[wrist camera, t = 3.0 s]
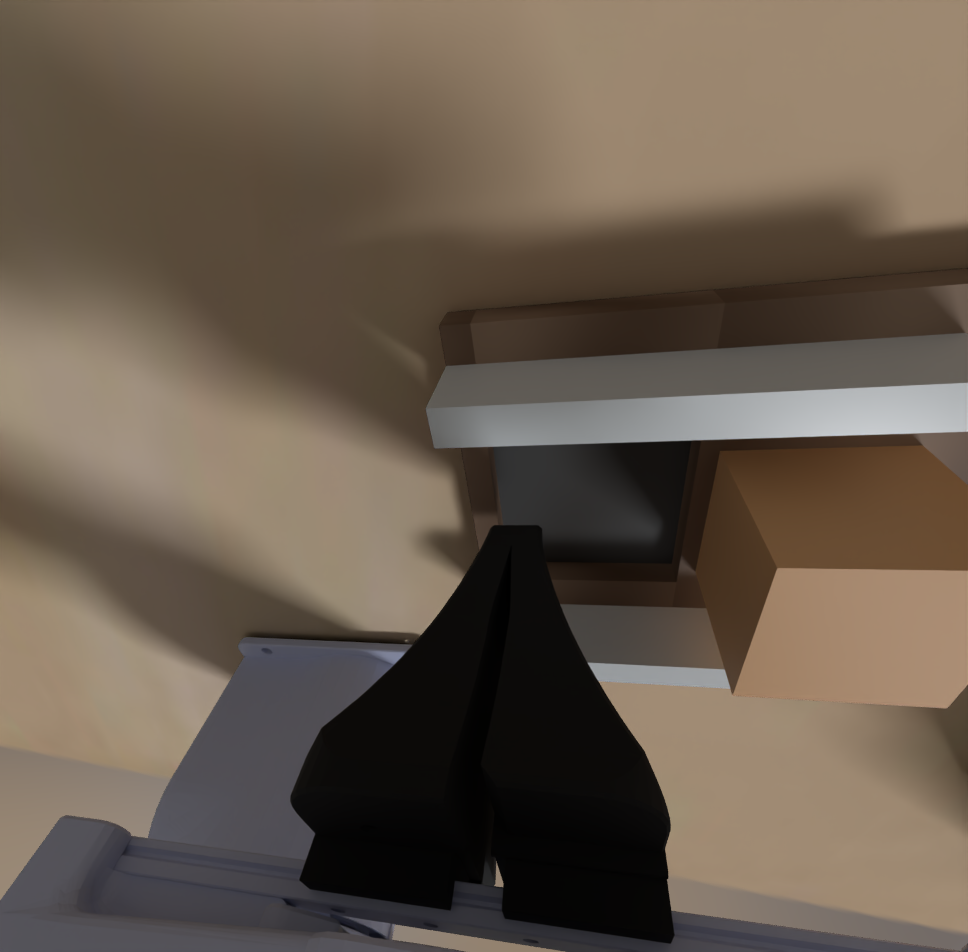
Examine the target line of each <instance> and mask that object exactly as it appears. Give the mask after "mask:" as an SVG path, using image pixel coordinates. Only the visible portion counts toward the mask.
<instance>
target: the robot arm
mask: <svg viewBox="0 0 968 952" xmlns="http://www.w3.org/2000/svg"><path fill="white" fill-rule="evenodd" d="M238 648H239V650H240V652H241V653H242V654H243V656H244V658H243V660H242V661H241V663H240V665H239V666H238V668H237V670H236V671H235V673H234V675H233V676H232V678H231V680H230V681H229V683H228V685H227V686H226V688H225V690H224V691H223V693H222V695H221V696H220V698H219V700H218V701H217V703H216V705H215V706H214V708H213V710H212V711H211V713H210V715H209V716H208V718H207V720H206V721H205V723H204V725H203V726H202V728H201V730H200V731H199V733H198V735H197V736H196V738H195V740H194V741H193V743H192V745H191V746H190V748H189V750H188V751H187V753H186V755H185V756H184V758H183V760H182V761H181V763H180V765H179V766H178V768H177V770H176V771H175V773H174V775H173V776H172V778H171V780H170V782H169V783H168V786H167V787H166V789H165V791H164V793H163V795H162V797H161V800H160V802H159V804H158V807H157V809H156V812H155V815H154V818H153V821H152V824H151V828H150V831H149V836H148V838H143V837H136V836H131V834H130V832H128V831H127V830H126V829H124V828H123V827H121V826H119V825H117V824H114V823H111V822H108V821H104V820H98V819H91V818H84V817H76V816H69V815H65V816H63V817H61V818H60V819H59V820H58V822H57V823H56V824H55V826H54V827H53V829H52V830H51V831H50V833H49V834H48V835H47V837H46V838H45V840H44V841H43V842H42V844H41V845H40V846H39V848H38V849H37V851H36V852H35V853H34V855H33V856H32V857H31V859H30V860H29V862H28V863H27V865H26V866H25V867H24V869H23V870H22V871H21V873H20V874H19V875H18V877H17V878H16V880H15V881H14V882H13V884H12V885H11V887H10V888H9V889H8V891H7V892H6V894H5V895H4V896H3V898H2V899H1V900H0V952H464V951H459V950H454V949H448V948H441V947H435V946H429V945H423V944H417V943H410V942H403V941H396V940H392V936H393V932H394V926H395V924H396V925H402V926H409V927H415V928H421V929H427V930H434V931H441V932H446V933H453V934H459V935H465V936H471V937H478V938H485V939H490V940H496V941H503V942H509V943H515V944H522V945H528V946H534V947H541V948H546V949H553V950H560V951H565V952H968V944H967V945H965V946H964V947H963V948H962V950H961V951H956V950H949V949H942V948H935V947H927V946H921V945H913V944H906V943H899V942H891V941H885V940H877V939H870V938H863V937H856V936H849V935H841V934H834V933H827V932H820V931H813V930H805V929H798V928H791V927H783V926H777V925H776V926H775V925H769V924H762V923H755V922H748V921H741V920H733V919H726V918H719V917H711V916H705V915H697V914H690V913H683V912H676V911H671V906H670V899H669V891H668V884H667V879H668V867H667V860H666V853H665V847H666V843H667V840H668V837H669V833H670V830H671V824H670V817H669V813H668V809H667V806H666V803H665V799H664V797H663V794H662V791H661V789H660V786H659V784H658V781H657V779H656V777H655V774H654V772H653V770H652V768H651V765H650V763H649V761H648V758H647V756H646V754H645V752H644V750H643V749H642V747H641V746H640V744H639V743H638V742H637V740H636V739H635V737H634V736H633V735H632V733H631V732H630V730H629V729H628V727H627V726H626V724H625V723H624V722H623V720H622V719H621V717H620V716H619V714H618V712H617V711H616V709H615V708H614V706H613V705H612V703H611V702H610V700H609V699H608V697H607V695H606V694H605V692H604V690H603V689H602V687H601V685H600V683H599V682H598V680H597V678H596V677H595V675H594V673H593V671H592V670H591V668H590V666H589V665H588V663H587V661H586V659H585V657H584V655H583V653H582V651H581V649H580V647H579V645H578V643H577V641H576V639H575V637H574V635H573V633H572V631H571V629H570V627H569V624H568V622H567V620H566V617H565V615H564V613H563V610H562V608H561V605H560V603H559V600H558V597H557V595H556V592H555V589H554V586H553V583H552V580H551V577H550V574H549V570H548V567H547V563H546V558H545V554H544V547H543V533H542V528H541V527H540V526H538V525H494V526H492V527H491V528H490V530H489V532H488V535H487V537H486V539H485V541H484V543H483V545H482V547H481V549H480V551H479V552H478V554H477V556H476V558H475V560H474V561H473V563H472V565H471V566H470V568H469V570H468V571H467V573H466V575H465V576H464V578H463V579H462V581H461V583H460V584H459V586H458V587H457V589H456V590H455V592H454V593H453V594H452V596H451V597H450V599H449V600H448V602H447V603H446V604H445V606H444V607H443V609H442V610H441V611H440V613H439V614H438V615H437V617H436V618H435V619H434V620H433V622H432V623H431V624H430V625H429V627H428V628H427V629H426V630H425V631H424V633H423V634H422V635H421V636H420V637H419V638H418V640H417V641H416V642H415V643H414V644H413V645H407V644H386V643H364V642H343V641H321V640H300V639H278V638H257V637H245V638H243V639H242V640H241V641H240V643H239V644H238ZM496 861H497V864H498V867H499V870H500V874H501V876H502V880H503V883H504V886H503V887H496V886H494V885H495V880H496Z"/></svg>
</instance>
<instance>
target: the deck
mask: <svg viewBox="0 0 968 952" xmlns="http://www.w3.org/2000/svg"><path fill="white" fill-rule="evenodd" d="M439 329H440V334H441V340H442V346H443V351H444V357H445V362H446V366H455V365H470V364H486V363H501V362H517V361H533V360H548V359H564V358H580V357H595V356H611V355H627V354H642V353H658V352H674V351H689V350H705V349H721V348H736V347H752V346H768V345H783V344H799V343H815V342H830V341H846V340H861V339H877V338H893V337H908V336H924V335H940V334H955V333H967V334H968V268H966V269H954V270H942V271H931V272H919V273H907V274H895V275H883V276H872V277H860V278H848V279H836V280H825V281H813V282H801V283H789V284H778V285H766V286H754V287H742V288H730V289H719V290H707V291H695V292H683V293H672V294H660V295H648V296H636V297H624V298H613V299H601V300H589V301H577V302H566V303H554V304H542V305H530V306H519V307H507V308H495V309H483V310H471V311H460V312H448V313H447V314H446V315H445V317H444V319H443V320H442V322H441V323H440V325H439ZM919 445H923V446H924V447H925V448H926V449H927V450H929V451H930V452H931V453H932V454H933V455H934V456H935V457H936V458H938V459H939V460H940V461H941V462H942V463H943V464H944V465H946V466H947V467H948V468H949V469H950V470H951V471H952V472H953V473H955V474H956V475H957V476H958V477H959V478H960V479H961V480H963V481H964V482H965V483H966V484H967V485H968V432H943V433H911V434H879V435H847V436H816V437H784V438H752V439H721V440H689V441H657V442H625V443H594V444H562V445H530V446H498V447H467V448H461V452H462V457H463V463H464V468H465V474H466V480H467V485H468V491H469V496H470V502H471V508H472V513H473V519H474V524H475V530H476V535H477V541H478V547H479V551H480V549H481V547H482V545H483V543H484V541H485V539H486V537H487V535H488V532H489V530H490V528H491V527H492V526H494V525H538V526H540V527H541V528H542V533H543V547H544V554H545V558H546V563H547V567H548V570H549V574H550V577H551V580H552V583H553V586H554V589H555V592H556V595H557V597H558V600H559V603H560V604H574V605H609V606H644V607H678V608H706V605H705V602H704V599H703V595H702V592H701V589H700V585H699V582H698V579H697V575H696V572H695V571H696V566H697V561H698V557H699V552H700V547H701V542H702V537H703V532H704V527H705V522H706V518H707V513H708V508H709V503H710V498H711V493H712V488H713V483H714V478H715V474H716V469H717V464H718V459H719V454H720V451H737V450H773V449H809V448H846V447H882V446H919Z"/></svg>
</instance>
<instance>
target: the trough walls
mask: <svg viewBox="0 0 968 952" xmlns="http://www.w3.org/2000/svg"><path fill="white" fill-rule="evenodd" d="M426 413H427V417H428V422H429V427H430V431H431V436H432V440H433V445H434V449H435V448H467V447H498V446H530V445H562V444H594V443H625V442H657V441H689V440H721V439H752V438H784V437H816V436H847V435H879V434H911V433H943V432H968V334H967V333H955V334H940V335H924V336H908V337H893V338H877V339H861V340H846V341H830V342H815V343H799V344H783V345H768V346H752V347H736V348H721V349H705V350H689V351H674V352H658V353H642V354H627V355H611V356H595V357H580V358H564V359H548V360H533V361H517V362H501V363H486V364H470V365H455V366H446V367H445V369H444V372H443V374H442V376H441V378H440V380H439V382H438V384H437V386H436V388H435V390H434V392H433V394H432V396H431V398H430V400H429V402H428V405H427V407H426ZM560 605H561V608H562V610H563V613H564V615H565V617H566V620H567V622H568V624H569V627H570V629H571V631H572V633H573V635H574V637H575V639H576V641H577V643H578V645H579V647H580V649H581V651H582V653H583V655H584V657H585V659H586V661H587V663H588V665H589V666H590V668H591V670H592V671H593V673H594V675H595V677H596V678H597V680H598V681H605V682H623V683H640V684H658V685H675V686H693V687H710V688H728V689H730V685H729V682H728V679H727V675H726V672H725V669H724V665H723V662H722V659H721V655H720V652H719V649H718V645H717V642H716V639H715V635H714V632H713V629H712V625H711V622H710V619H709V615H708V612H707V609H706V608H678V607H644V606H609V605H574V604H560Z"/></svg>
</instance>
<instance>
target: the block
mask: <svg viewBox="0 0 968 952" xmlns="http://www.w3.org/2000/svg"><path fill="white" fill-rule="evenodd" d="M695 572H696V575H697V579H698V582H699V585H700V589H701V592H702V595H703V599H704V602H705V605H706V609H707V612H708V615H709V619H710V622H711V625H712V629H713V632H714V635H715V639H716V642H717V645H718V649H719V652H720V655H721V659H722V662H723V665H724V669H725V672H726V675H727V679H728V682H729V685H730V689H731V692H732V695H733V696H745V697H762V698H779V699H796V700H813V701H830V702H846V703H863V704H880V705H897V706H914V707H931V708H948V707H949V706H950V704H951V703H952V702H953V701H954V700H955V699H956V698H957V696H958V695H959V694H960V693H961V692H962V691H963V690H964V689H965V687H966V686H967V685H968V485H967V484H966V483H965V482H964V481H963V480H961V479H960V478H959V477H958V476H957V475H956V474H955V473H953V472H952V471H951V470H950V469H949V468H948V467H947V466H946V465H944V464H943V463H942V462H941V461H940V460H939V459H938V458H936V457H935V456H934V455H933V454H932V453H931V452H930V451H929V450H927V449H926V448H925V447H924V446H923V445H919V446H882V447H846V448H809V449H773V450H737V451H720V454H719V459H718V464H717V469H716V474H715V478H714V483H713V488H712V493H711V498H710V503H709V508H708V513H707V518H706V522H705V527H704V532H703V537H702V542H701V547H700V552H699V557H698V561H697V566H696V571H695Z"/></svg>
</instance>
